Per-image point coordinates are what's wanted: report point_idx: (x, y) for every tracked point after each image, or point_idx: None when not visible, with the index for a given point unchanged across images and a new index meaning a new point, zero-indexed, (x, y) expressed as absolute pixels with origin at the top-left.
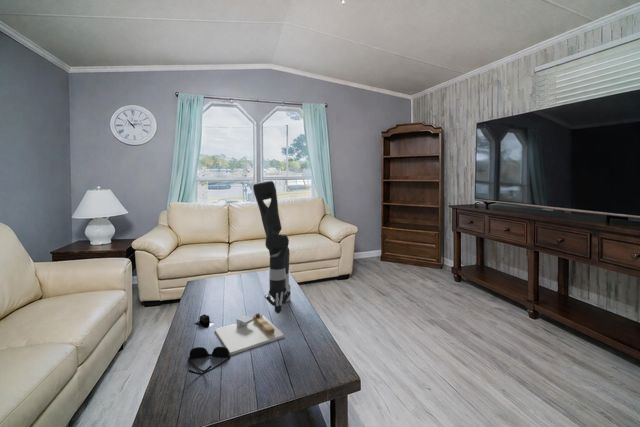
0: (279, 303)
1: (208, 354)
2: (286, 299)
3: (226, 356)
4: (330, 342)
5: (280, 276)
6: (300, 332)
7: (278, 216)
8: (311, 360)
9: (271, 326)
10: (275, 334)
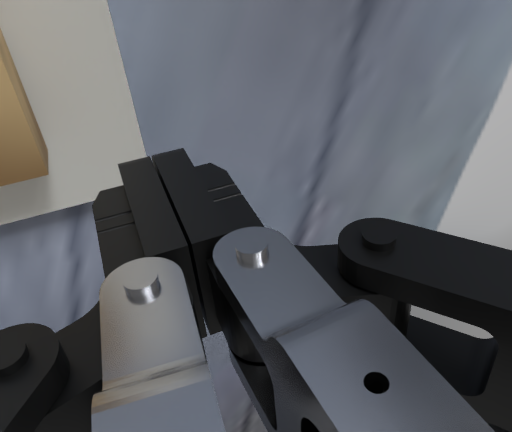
0: (243, 380)
1: None
2: (467, 362)
3: None
4: None
5: None
6: (313, 140)
7: None
8: (225, 424)
9: (13, 99)
10: (59, 154)
